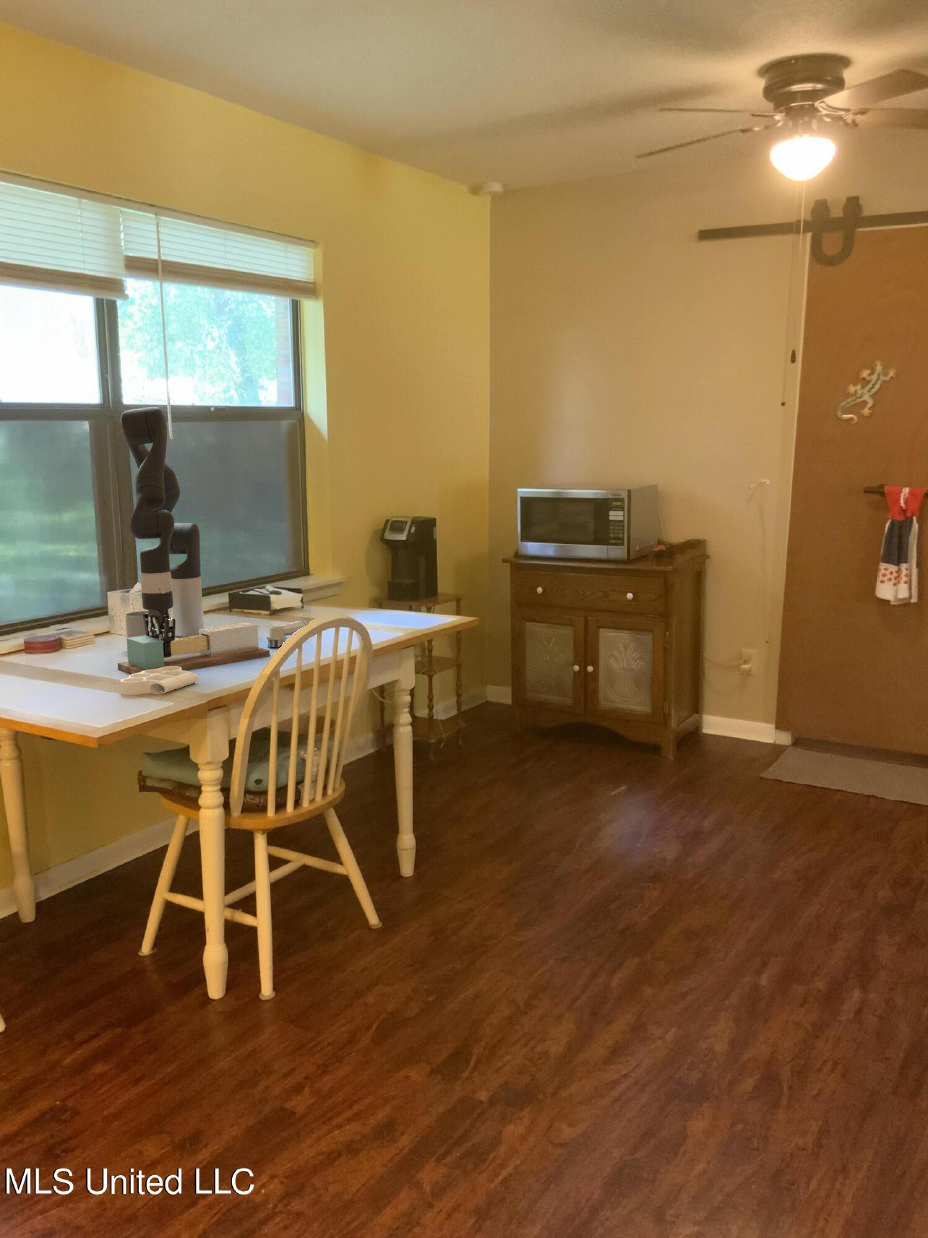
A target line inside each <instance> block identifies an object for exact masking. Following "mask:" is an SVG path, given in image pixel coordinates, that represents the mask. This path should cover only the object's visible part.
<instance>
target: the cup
mask: <svg viewBox="0 0 928 1238" xmlns="http://www.w3.org/2000/svg"><path fill="white" fill-rule="evenodd" d="M148 612H149V610H144V611H143V610H142V611H140V610H139V611H132V612H128V613H126V614H125V628H126V629H125V630H126V639H127V638H131V637H137V636H144V635H146V632H145V625H144V619H143V614H145V613H148Z"/></svg>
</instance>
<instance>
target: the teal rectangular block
mask: <svg viewBox="0 0 928 1238" xmlns="http://www.w3.org/2000/svg"><path fill="white" fill-rule="evenodd" d="M126 648H127V662H128V663H129V664H132V665H135V666H138V667H140V668H143V669H150V668H156V667H162V666H164V653H163V641H162V640H159V639H156V638H152V637H149V636H146V635H144V636H137V637H131V638H127V637H126Z"/></svg>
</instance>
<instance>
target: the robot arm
mask: <svg viewBox="0 0 928 1238" xmlns="http://www.w3.org/2000/svg"><path fill="white" fill-rule="evenodd" d="M120 426H121V430H122V434H123V436H124V438H125V441H126V443H127V446H128V448H129V451H130V453H131V454H132V456H133V459H134V461H135V464H136V467H137V472H136V475H135V496H136V497H135V505H134V508H133V511H132V513H131V517H130V521H129V530H130V533H131V534H132V536H133V537H135V538H136V539H139V540H148V539H149V540H150V539H151V540H152V539H159V543H158V544H157V545H155V546H151V547H148V548H144V549H142V550H141V551H140V553H139V561H140V575H141V576H140V590H141V603H142V604H141V605H142V608H143V610H144V611H149V612H148V613H145V614H143V619H144V625H145V632H146V636H149V637H152V638H156V639H159V640H162V641H163V653H164V658H168V657H171V645H170V642H172V641H175V638H176V637H180V638H182V637H188V636H195V635H199V629H203V628H205V623H204V608H203V607H204V605H203V592H202V591H203V590H202V575H201V535H200V534H201V533H200V529H199V527H198V525H197V523H194V522H175V517H174V516H173V514H172V512H173V510H174V508H175V506H176V505H177V503H178V502H179V499H180V494H181V490H180V485H179V482H178V479H177V476H176V473H175V471H174V470H173V469H172V468H171V466H170V465H169V464H168V463H166V457H167V456H166V454H167V445H168V427H167V420H166V416H165V413H164V411H163V410H162V409H161V408H160V406H159V407H158V406H151V407H150V406H149V407H142V408H134V409H128V410H125V411H123V412H122V414H121V415H120ZM148 444H152V445H151V447H150V450H149V449H148V448H147V446H146V445H148ZM170 555H186V559H185V560H184V561H182V562H181V563H179V564H177V565H174V566H171V564H170ZM169 610H170V613H169Z"/></svg>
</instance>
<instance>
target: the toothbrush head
mask: <svg viewBox="0 0 928 1238" xmlns="http://www.w3.org/2000/svg"><path fill="white" fill-rule="evenodd" d="M308 624H310V623H309V622H308V621H307V620H303V619H296V620H295V621H292V622H289V623H285V624H282V625H271V626H270V627H269V632H268V633H269V635H268V636H266V641H267V647H269V648H279V647H280V645H282V644H283V642H285V643H286V640H287V638H288V637H289V636H293V635H292V634H293V633H294V632H296V631H297V630H298V629H300V628H302V627H304V626H306V625H308Z"/></svg>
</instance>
